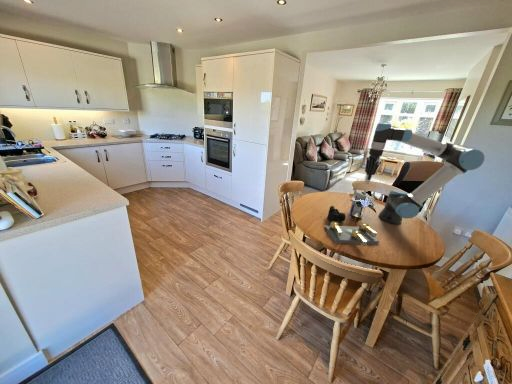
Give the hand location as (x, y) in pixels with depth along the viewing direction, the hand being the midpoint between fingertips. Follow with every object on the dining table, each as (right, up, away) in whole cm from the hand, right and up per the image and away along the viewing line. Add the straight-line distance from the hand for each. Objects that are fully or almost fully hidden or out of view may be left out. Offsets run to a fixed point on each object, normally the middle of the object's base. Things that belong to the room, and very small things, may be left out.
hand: (366, 183), depth 140 cm
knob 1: (-24, -31, -8) cm, 40 cm away
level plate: (-14, -34, -7) cm, 37 cm away
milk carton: (+1, -24, +20) cm, 31 cm away
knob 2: (-3, -32, -7) cm, 33 cm away
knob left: (-14, -35, -16) cm, 41 cm away
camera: (-17, -27, +9) cm, 34 cm away
